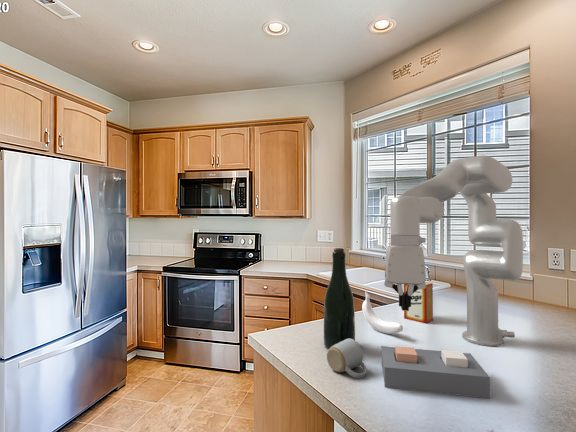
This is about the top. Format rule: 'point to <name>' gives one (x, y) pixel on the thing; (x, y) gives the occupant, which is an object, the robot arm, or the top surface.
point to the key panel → (434, 374)
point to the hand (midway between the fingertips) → (404, 309)
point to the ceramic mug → (346, 357)
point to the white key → (454, 358)
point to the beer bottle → (338, 304)
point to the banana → (378, 323)
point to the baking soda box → (421, 305)
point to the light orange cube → (405, 354)
